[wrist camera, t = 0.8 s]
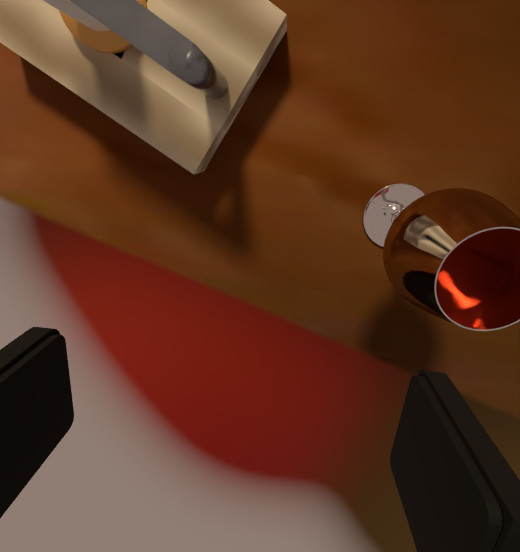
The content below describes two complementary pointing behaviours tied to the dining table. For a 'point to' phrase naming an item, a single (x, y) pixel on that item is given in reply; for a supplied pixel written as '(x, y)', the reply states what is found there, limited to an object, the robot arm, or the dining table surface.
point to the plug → (90, 28)
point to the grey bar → (158, 42)
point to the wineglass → (450, 253)
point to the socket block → (156, 69)
